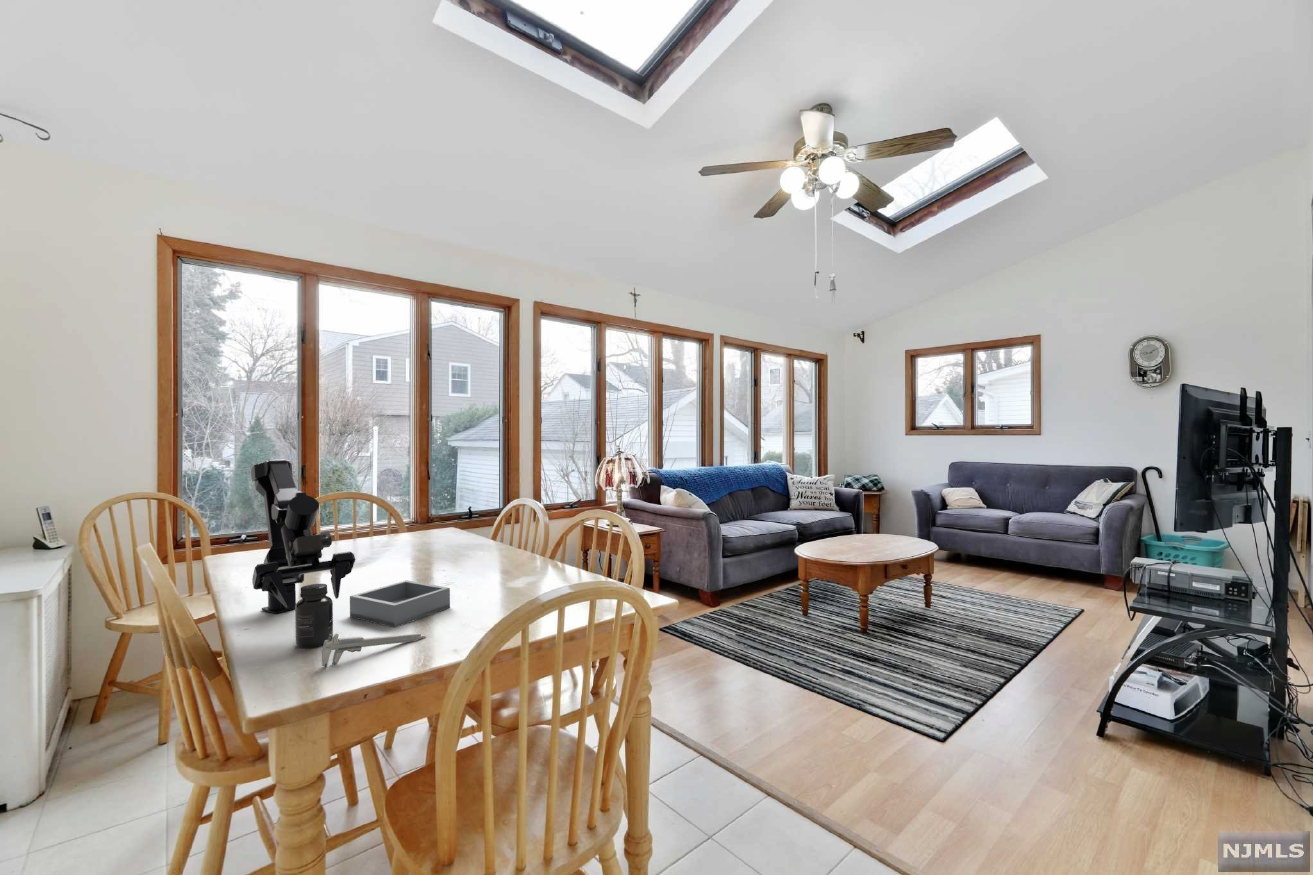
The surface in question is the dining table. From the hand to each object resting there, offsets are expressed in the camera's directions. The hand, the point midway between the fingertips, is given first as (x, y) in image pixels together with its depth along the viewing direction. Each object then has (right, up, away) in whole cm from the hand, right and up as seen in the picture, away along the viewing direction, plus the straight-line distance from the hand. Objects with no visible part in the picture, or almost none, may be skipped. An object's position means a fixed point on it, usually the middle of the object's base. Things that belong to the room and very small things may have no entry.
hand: (313, 602), depth 121 cm
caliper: (+16, -9, -5) cm, 19 cm away
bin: (+10, -8, +19) cm, 23 cm away
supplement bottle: (0, -9, 0) cm, 9 cm away
